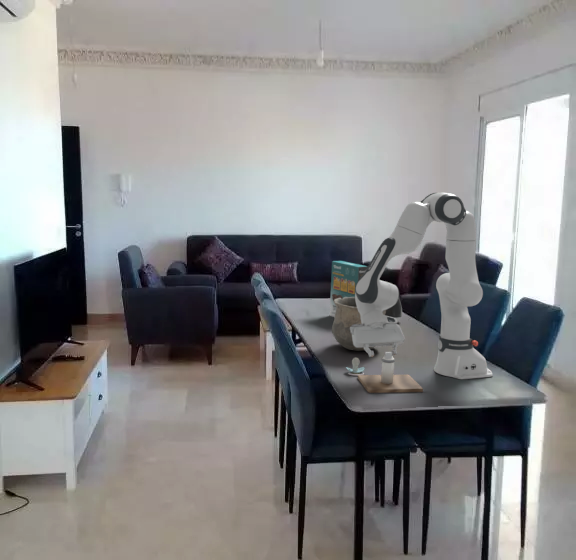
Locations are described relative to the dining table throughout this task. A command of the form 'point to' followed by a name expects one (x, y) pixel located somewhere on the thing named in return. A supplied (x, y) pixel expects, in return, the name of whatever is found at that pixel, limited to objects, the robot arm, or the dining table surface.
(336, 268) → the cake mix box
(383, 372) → the white bar-topped cylinder
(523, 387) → the dining table surface
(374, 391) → the board
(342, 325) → the pot
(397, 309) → the dark grey domed cylinder
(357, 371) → the pacifier
